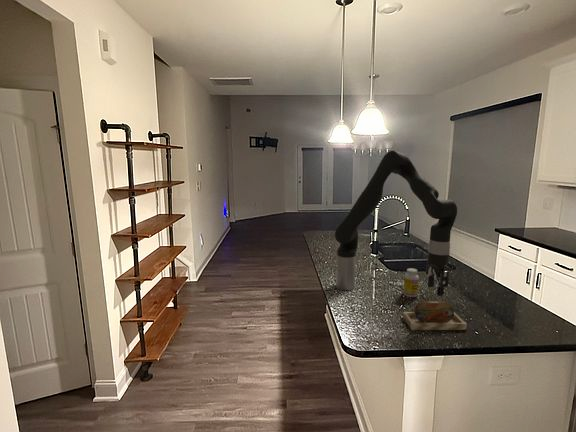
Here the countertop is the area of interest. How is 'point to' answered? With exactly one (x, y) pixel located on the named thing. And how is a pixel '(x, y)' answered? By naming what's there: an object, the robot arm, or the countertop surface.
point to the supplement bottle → (411, 283)
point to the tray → (415, 324)
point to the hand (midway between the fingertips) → (435, 291)
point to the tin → (434, 312)
